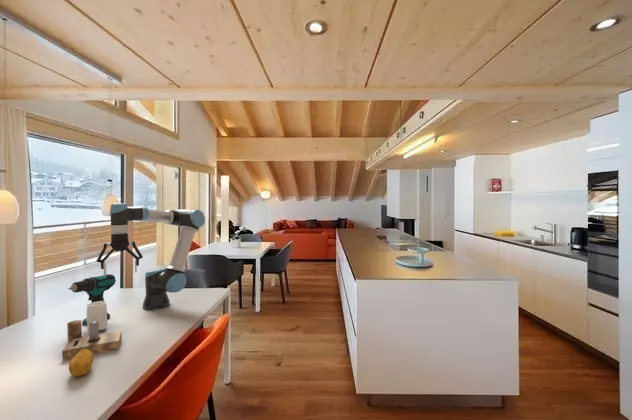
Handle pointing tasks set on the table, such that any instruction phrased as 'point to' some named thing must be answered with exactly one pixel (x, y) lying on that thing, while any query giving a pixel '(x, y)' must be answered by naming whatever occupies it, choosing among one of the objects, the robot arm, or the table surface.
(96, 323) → the grey metal peg
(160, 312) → the table surface
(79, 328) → the walnut dowel
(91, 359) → the potato
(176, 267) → the robot arm
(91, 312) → the cup
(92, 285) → the power drill
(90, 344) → the socket block
